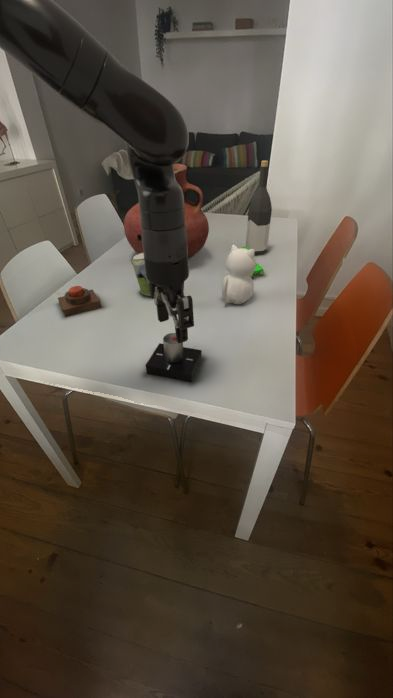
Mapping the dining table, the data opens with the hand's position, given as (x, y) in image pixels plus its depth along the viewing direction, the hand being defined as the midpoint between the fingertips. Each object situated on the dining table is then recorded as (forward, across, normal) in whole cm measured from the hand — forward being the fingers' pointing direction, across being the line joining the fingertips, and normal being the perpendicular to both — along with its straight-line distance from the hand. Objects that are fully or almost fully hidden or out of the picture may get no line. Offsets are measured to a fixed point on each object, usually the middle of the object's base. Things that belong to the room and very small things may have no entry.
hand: (172, 330), depth 64 cm
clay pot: (+10, -56, +25) cm, 63 cm away
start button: (+6, -37, -12) cm, 40 cm away
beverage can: (+10, -34, +8) cm, 37 cm away
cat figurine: (+10, -18, +28) cm, 34 cm away
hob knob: (+7, 0, 0) cm, 7 cm away
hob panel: (+10, 0, 0) cm, 10 cm away
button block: (+9, -38, -12) cm, 41 cm away
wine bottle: (+10, -44, +56) cm, 72 cm away
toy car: (+10, -32, +42) cm, 53 cm away
